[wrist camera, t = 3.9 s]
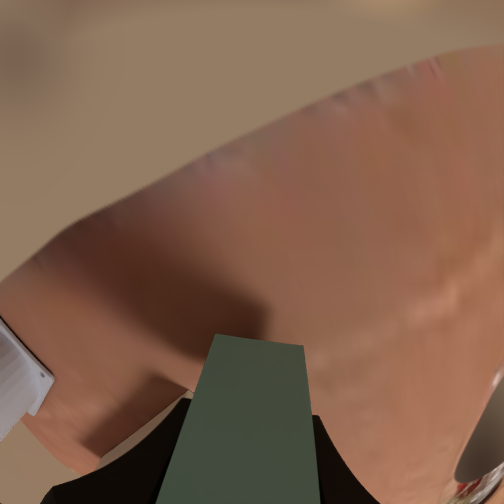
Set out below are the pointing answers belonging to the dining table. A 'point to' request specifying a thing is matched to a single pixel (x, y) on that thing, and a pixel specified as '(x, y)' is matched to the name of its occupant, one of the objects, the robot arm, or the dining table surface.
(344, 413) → the dining table surface
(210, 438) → the teal square peg
